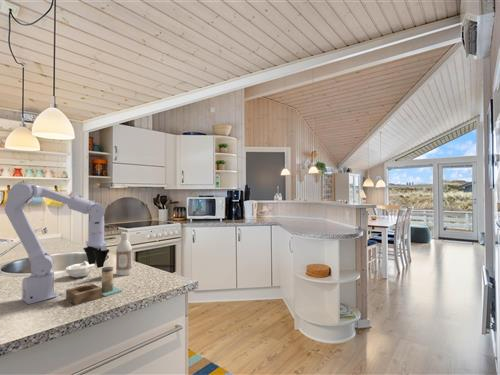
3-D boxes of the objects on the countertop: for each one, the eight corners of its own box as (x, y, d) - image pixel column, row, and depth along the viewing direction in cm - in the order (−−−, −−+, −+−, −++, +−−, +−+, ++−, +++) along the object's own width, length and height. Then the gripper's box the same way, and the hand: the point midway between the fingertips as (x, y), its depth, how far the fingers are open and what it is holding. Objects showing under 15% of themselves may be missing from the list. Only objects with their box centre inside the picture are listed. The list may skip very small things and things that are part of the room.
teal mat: (104, 296, 110) (104, 295, 110) (93, 291, 115) (93, 290, 115) (122, 291, 115) (122, 290, 115) (111, 286, 121) (111, 285, 121)
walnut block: (76, 305, 102) (76, 295, 102) (66, 298, 108) (66, 289, 108) (101, 297, 109) (102, 288, 109) (91, 292, 115) (91, 283, 115)
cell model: (62, 277, 134) (62, 262, 134) (89, 271, 143) (89, 258, 143) (69, 281, 127) (69, 266, 127) (98, 275, 136) (98, 261, 136)
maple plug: (104, 293, 112) (104, 270, 112) (99, 290, 115) (100, 268, 115) (114, 290, 116) (114, 267, 116) (109, 288, 118) (109, 266, 118)
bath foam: (114, 276, 135) (114, 233, 135) (117, 272, 142) (118, 231, 142) (130, 275, 137) (130, 233, 137) (132, 271, 144) (133, 231, 144)
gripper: (114, 233, 117) (114, 266, 116) (98, 229, 126) (98, 260, 125) (96, 235, 111) (96, 270, 111) (81, 231, 120) (80, 263, 120)
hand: (95, 265), depth 118 cm, fingers open, 7 cm apart
